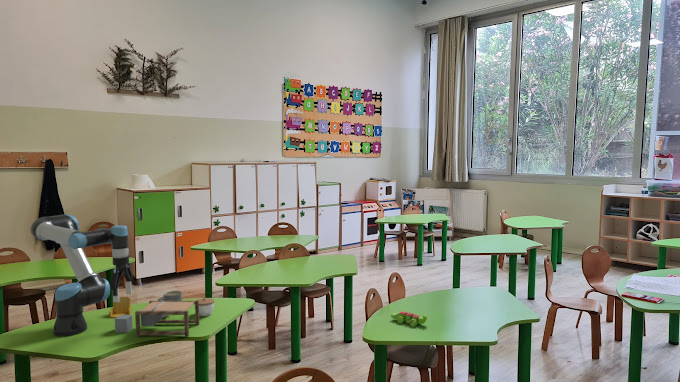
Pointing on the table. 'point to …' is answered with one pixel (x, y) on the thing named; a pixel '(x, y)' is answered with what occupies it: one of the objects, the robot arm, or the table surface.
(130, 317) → the slate block
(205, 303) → the lidded jar
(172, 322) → the stand
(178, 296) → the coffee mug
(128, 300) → the yellow toy armchair
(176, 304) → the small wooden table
